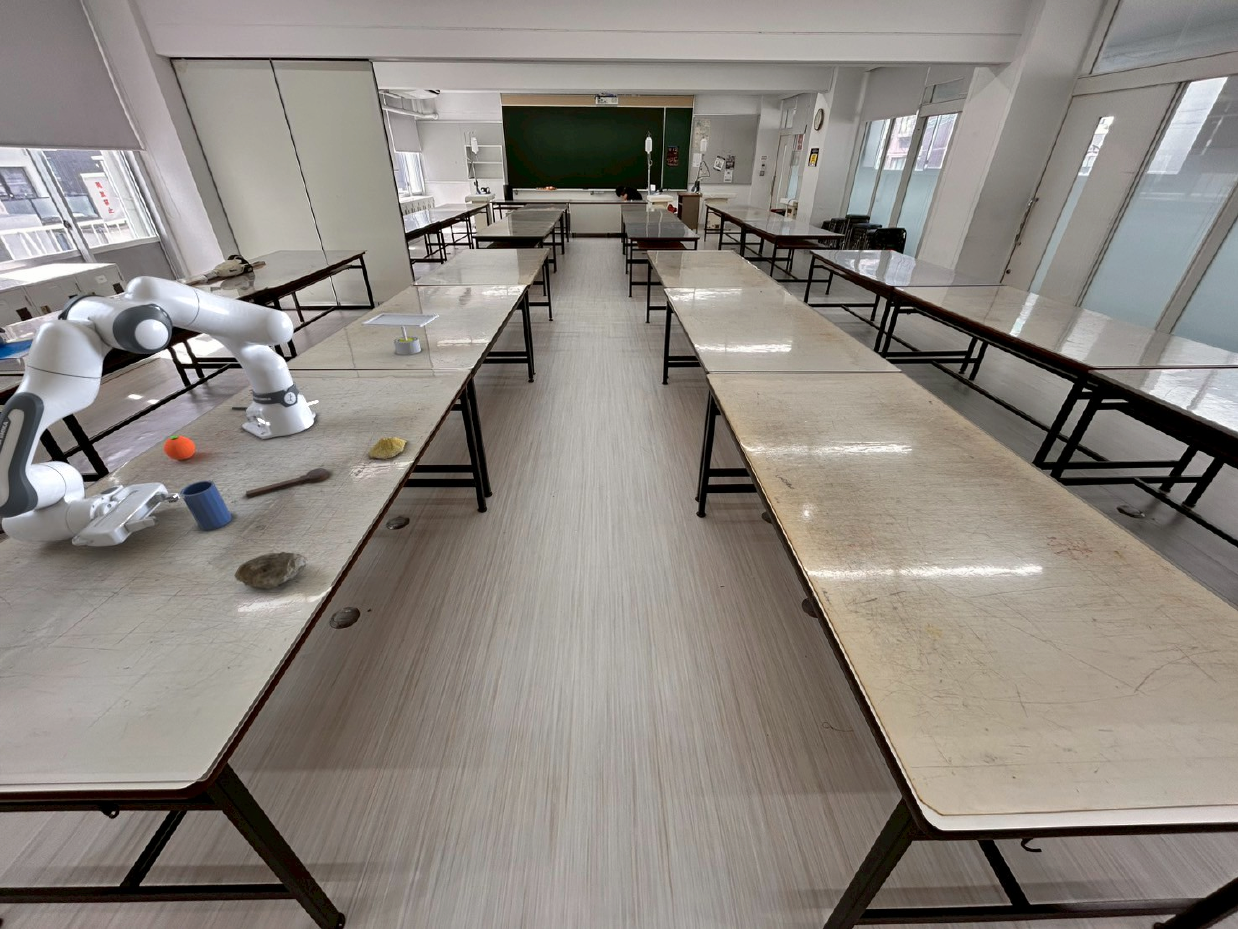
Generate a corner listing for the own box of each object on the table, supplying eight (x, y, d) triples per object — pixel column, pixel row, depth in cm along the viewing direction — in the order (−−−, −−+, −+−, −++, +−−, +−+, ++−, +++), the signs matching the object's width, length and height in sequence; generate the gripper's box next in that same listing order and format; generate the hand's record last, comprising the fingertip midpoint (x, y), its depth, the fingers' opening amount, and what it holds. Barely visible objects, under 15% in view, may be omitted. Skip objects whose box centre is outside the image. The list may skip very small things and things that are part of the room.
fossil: (378, 424, 151) (408, 427, 149) (386, 438, 155) (415, 442, 153) (358, 449, 143) (389, 453, 141) (366, 464, 147) (397, 467, 146)
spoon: (247, 500, 128) (244, 496, 127) (247, 491, 132) (245, 486, 131) (329, 478, 136) (327, 474, 136) (327, 470, 140) (325, 465, 139)
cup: (194, 526, 119) (173, 492, 114) (221, 511, 124) (202, 478, 119) (211, 532, 117) (191, 498, 112) (237, 517, 122) (220, 483, 117)
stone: (320, 557, 106) (292, 550, 99) (307, 594, 104) (277, 590, 96) (270, 551, 109) (239, 543, 101) (256, 587, 106) (223, 582, 99)
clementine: (167, 457, 147) (155, 436, 144) (195, 448, 152) (184, 428, 148) (173, 466, 143) (161, 445, 139) (202, 457, 147) (191, 436, 143)
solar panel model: (369, 356, 222) (360, 323, 214) (390, 344, 236) (381, 312, 229) (427, 359, 219) (420, 325, 211) (444, 346, 233) (438, 314, 225)
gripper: (57, 534, 104) (132, 525, 106) (118, 481, 121) (182, 474, 123) (74, 557, 107) (147, 547, 109) (132, 502, 124) (194, 495, 126)
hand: (166, 508), depth 116 cm, fingers open, 8 cm apart
